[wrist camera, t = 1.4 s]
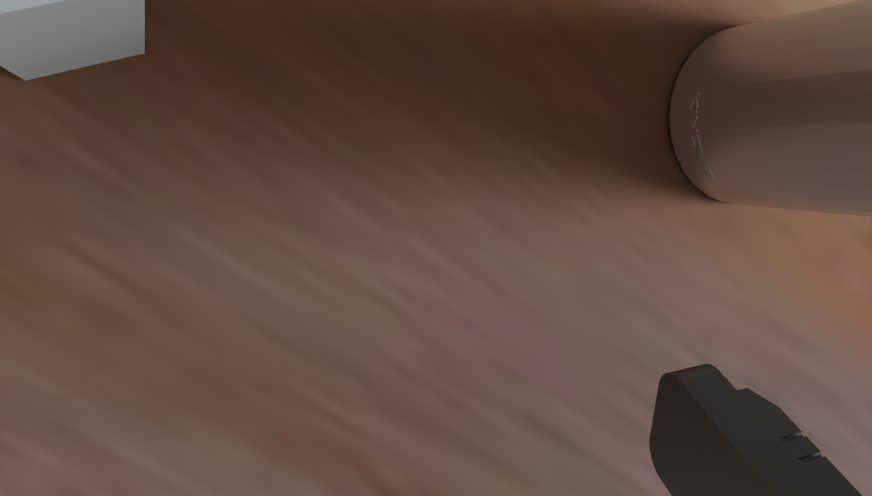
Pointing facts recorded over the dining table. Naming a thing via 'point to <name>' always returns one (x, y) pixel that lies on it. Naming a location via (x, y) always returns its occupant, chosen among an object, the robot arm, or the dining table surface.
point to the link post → (68, 34)
